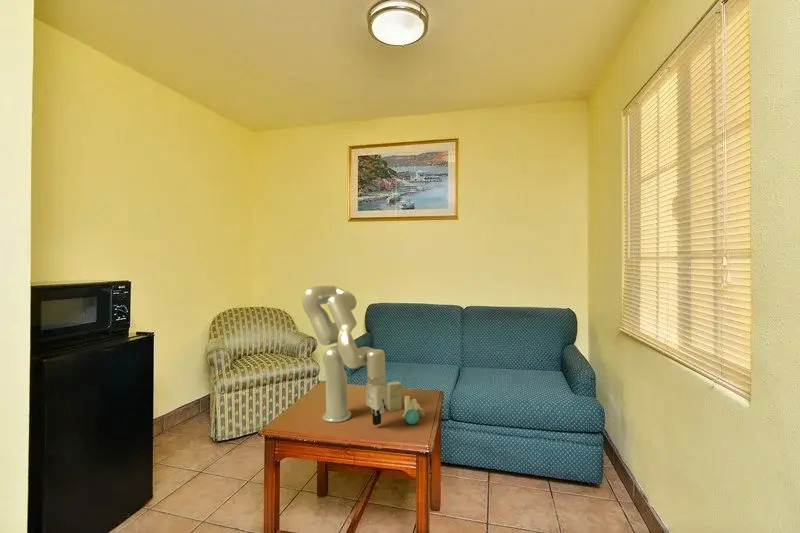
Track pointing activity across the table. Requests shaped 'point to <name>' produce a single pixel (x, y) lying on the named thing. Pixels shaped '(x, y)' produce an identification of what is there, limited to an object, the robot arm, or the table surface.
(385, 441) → the table surface
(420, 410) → the back rail
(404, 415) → the pin front
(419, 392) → the table surface
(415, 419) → the ball
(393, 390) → the skincare box
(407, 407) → the pin
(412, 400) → the pin
